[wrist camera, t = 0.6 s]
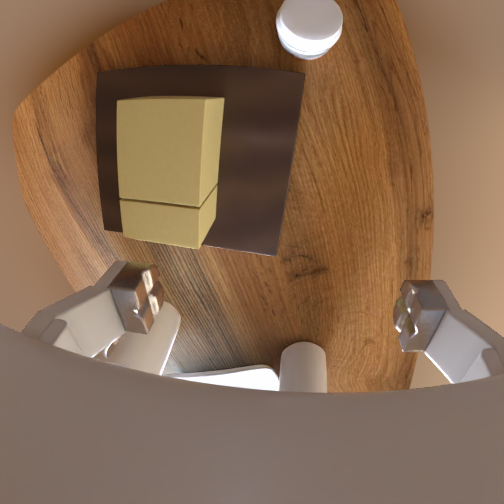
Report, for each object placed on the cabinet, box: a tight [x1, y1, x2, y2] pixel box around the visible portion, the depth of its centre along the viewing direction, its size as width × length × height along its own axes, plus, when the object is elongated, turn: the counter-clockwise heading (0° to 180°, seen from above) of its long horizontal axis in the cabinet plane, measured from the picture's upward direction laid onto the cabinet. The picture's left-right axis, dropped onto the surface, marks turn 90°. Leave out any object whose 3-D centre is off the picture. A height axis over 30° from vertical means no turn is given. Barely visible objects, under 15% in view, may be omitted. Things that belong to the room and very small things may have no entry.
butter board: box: [96, 65, 305, 256], centre depth 26 cm, size 18×20×2 cm
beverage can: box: [278, 342, 327, 393], centre depth 35 cm, size 6×6×12 cm
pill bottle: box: [276, 0, 343, 60], centre depth 17 cm, size 5×5×8 cm
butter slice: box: [120, 185, 217, 249], centre depth 25 cm, size 4×7×6 cm, turn 84°
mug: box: [98, 300, 181, 375], centre depth 34 cm, size 10×7×12 cm, turn 95°
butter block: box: [117, 96, 225, 207], centre depth 22 cm, size 8×7×6 cm
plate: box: [162, 364, 279, 391], centre depth 47 cm, size 21×21×3 cm
